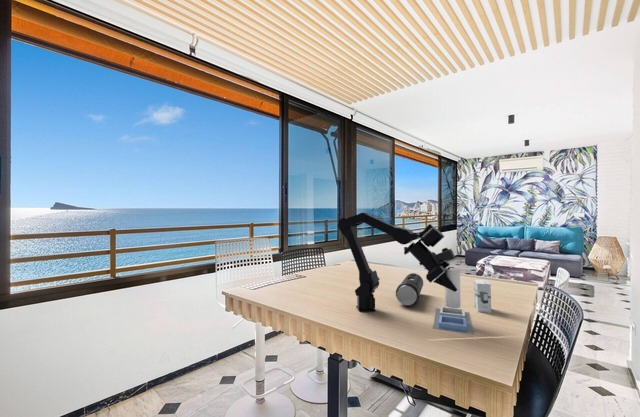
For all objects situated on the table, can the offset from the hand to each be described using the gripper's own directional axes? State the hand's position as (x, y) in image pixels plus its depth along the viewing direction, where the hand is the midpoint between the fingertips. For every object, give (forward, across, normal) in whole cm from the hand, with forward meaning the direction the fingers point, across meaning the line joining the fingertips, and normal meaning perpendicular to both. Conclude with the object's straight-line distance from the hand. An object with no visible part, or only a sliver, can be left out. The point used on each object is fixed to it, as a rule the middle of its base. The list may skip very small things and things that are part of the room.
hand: (457, 289), depth 100 cm
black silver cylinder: (-6, +23, +24) cm, 34 cm away
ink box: (+14, +23, +4) cm, 27 cm away
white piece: (+3, 0, +5) cm, 6 cm away
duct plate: (+7, +4, +10) cm, 13 cm away
